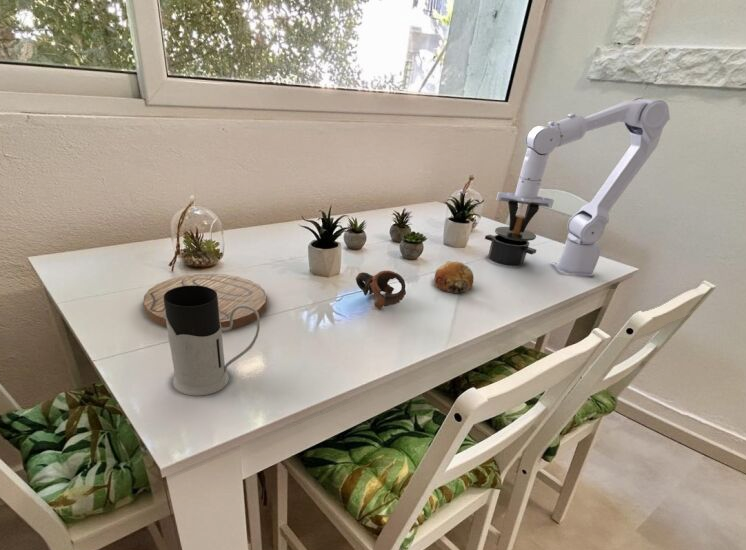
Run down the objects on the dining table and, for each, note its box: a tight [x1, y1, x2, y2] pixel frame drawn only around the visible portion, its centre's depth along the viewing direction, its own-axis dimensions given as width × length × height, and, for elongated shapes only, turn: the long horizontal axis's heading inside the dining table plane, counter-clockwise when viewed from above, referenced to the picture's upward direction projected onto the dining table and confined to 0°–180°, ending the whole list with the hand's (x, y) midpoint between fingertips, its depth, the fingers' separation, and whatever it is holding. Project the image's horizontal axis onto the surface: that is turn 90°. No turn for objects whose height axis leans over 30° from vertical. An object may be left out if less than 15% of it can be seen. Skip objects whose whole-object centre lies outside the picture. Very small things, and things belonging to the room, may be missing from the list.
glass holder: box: [164, 285, 261, 397], centre depth 72 cm, size 9×14×15 cm, turn 95°
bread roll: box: [434, 260, 475, 294], centre depth 117 cm, size 10×10×8 cm
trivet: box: [142, 273, 268, 330], centre depth 98 cm, size 25×25×2 cm
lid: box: [494, 214, 537, 242], centre depth 128 cm, size 11×11×6 cm
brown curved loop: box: [355, 270, 407, 310], centre depth 106 cm, size 12×10×8 cm
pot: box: [484, 234, 537, 267], centre depth 137 cm, size 10×16×6 cm, turn 43°
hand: (515, 230), depth 129 cm, fingers closed on lid, 2 cm apart
